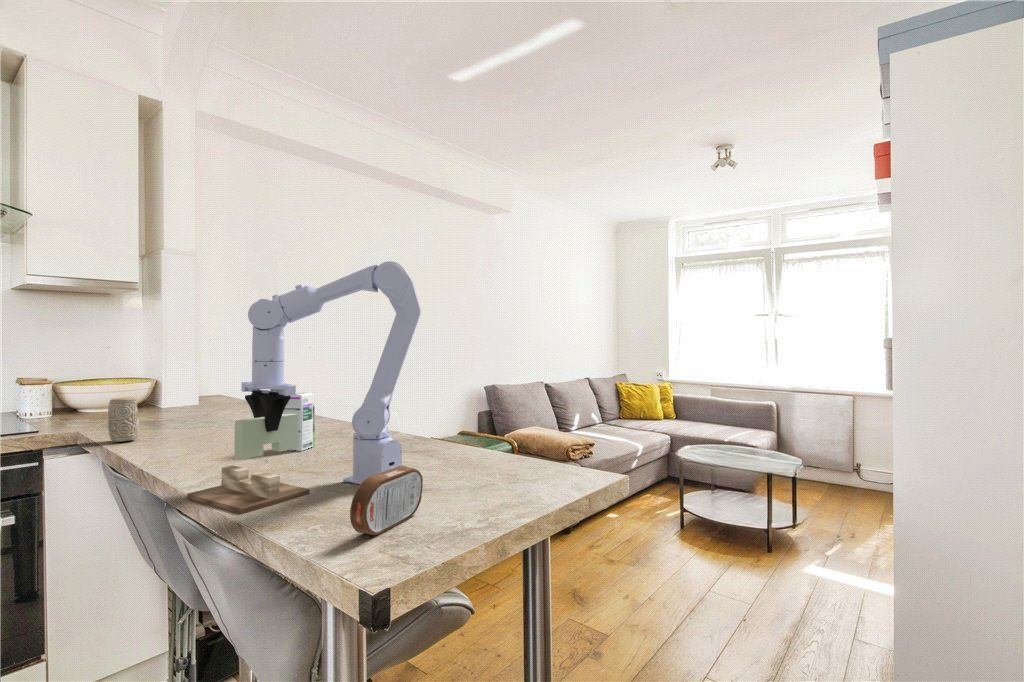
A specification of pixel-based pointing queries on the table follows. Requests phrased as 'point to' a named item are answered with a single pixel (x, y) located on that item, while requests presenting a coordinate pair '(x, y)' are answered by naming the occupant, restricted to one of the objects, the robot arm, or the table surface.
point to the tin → (386, 500)
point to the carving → (123, 419)
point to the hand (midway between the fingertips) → (267, 430)
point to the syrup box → (303, 418)
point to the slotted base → (244, 498)
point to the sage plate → (264, 436)
